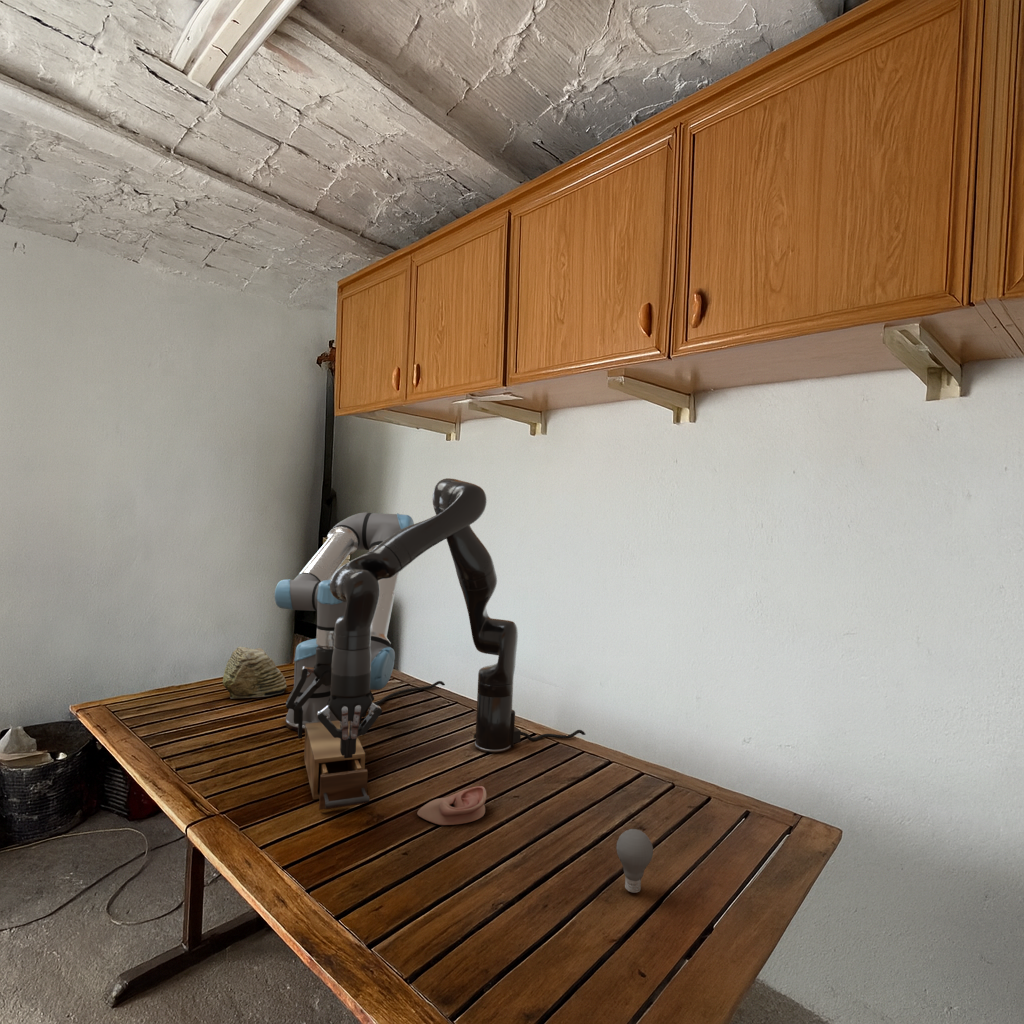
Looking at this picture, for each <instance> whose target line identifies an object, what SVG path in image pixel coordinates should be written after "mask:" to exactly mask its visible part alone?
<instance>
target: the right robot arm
mask: <svg viewBox="0 0 1024 1024" xmlns="http://www.w3.org/2000/svg"><path fill="white" fill-rule="evenodd" d="M487 501H488V500H487V494H486V492H485V490H484V489H483V488H482V487H481V486H479V485H477V484H475V483H471V482H469V481H464V480H462V479H456V478H443V479H440V480H439V481H438V482H437V483H436V485H435V486H434V489H433V492H432V505H433V511H434V513H435V515H433V516H431V517H430V518H427V519H425V520H422V521H419V522H415V523H414V524H413V525H410V526H408V527H405V528H403V529H401V530H399V531H397V532H395V533H394V534H392V535H391V536H390V537H388V538H387V539H386V540H384V541H383V542H382V543H380V544H379V545H378V546H377V547H375V548H374V549H373V550H372V551H370V552H369V551H367V552H365V553H364V554H361V555H359V556H358V557H356V558H353V559H352V560H350V561H348V562H346V563H345V564H343V565H341V566H340V567H339V568H338V570H337V571H336V572H335V573H334V575H333V576H332V578H331V579H330V580H331V581H330V591H331V593H332V595H333V596H334V597H335V598H336V599H338V600H340V601H343V602H346V603H347V605H346V610H345V615H344V616H341V617H339V618H338V619H337V620H336V623H335V630H334V650H333V655H332V664H331V669H332V671H331V695H330V698H329V700H328V703H327V706H326V707H325V708H324V709H322V710H318V711H317V713H316V714H317V717H318V719H319V720H320V722H321V723H322V724H323V725H324V726H325V728H326V729H327V730H328V731H329V732H330V733H331V735H332V736H333V737H334V738H340V739H341V741H340V752H341V754H342V756H343V755H344V758H352V754H355V752H356V739H357V737H358V738H359V737H360V736H365V735H366V734H367V733H368V731H369V730H370V729H371V728H372V726H373V725H374V724H375V722H376V721H377V720H378V718H379V717H380V716H381V715H382V713H383V710H382V708H381V706H380V704H379V705H375V704H374V703H375V702H373V701H372V699H371V697H370V677H371V650H370V643H371V624H372V621H373V618H374V615H375V611H376V608H377V604H378V600H379V594H380V587H379V582H378V580H380V579H387V578H391V577H393V576H395V575H396V574H398V573H399V574H400V573H401V572H402V571H403V570H404V569H405V568H406V567H408V566H409V565H410V564H411V563H413V562H414V561H415V560H416V559H418V557H420V556H421V555H423V554H424V553H425V552H426V551H428V550H430V549H431V548H433V547H435V546H436V545H438V544H440V543H441V542H442V541H443V542H444V540H446V542H447V545H448V549H449V551H450V555H451V558H452V562H453V565H454V568H455V572H456V576H457V580H458V583H459V586H460V589H461V591H462V595H463V598H464V602H465V606H466V610H467V613H468V620H469V625H470V631H471V637H472V642H473V644H474V647H475V649H476V650H477V652H479V653H482V654H486V655H491V656H497V657H498V658H497V662H496V663H494V664H489V665H485V666H483V667H480V669H478V674H477V694H476V695H477V698H476V719H475V734H474V735H473V740H475V741H474V747H475V749H477V750H479V751H480V752H484V753H489V754H490V753H491V754H498V753H499V754H500V753H504V752H507V751H509V750H510V749H512V748H514V747H515V746H514V745H515V744H517V743H521V740H522V739H521V738H522V737H521V736H523V737H525V738H526V739H527V740H529V741H530V742H536V741H539V740H541V739H544V738H555V739H562V740H567V739H572V738H574V737H575V736H576V735H578V734H581V735H582V736H586V732H585V731H584V730H582V729H577V730H575V731H573V732H572V733H570V734H555V733H543V734H539V735H537V736H535V737H532V736H530V735H529V733H527V732H523V731H522V730H521V729H519V727H516V726H515V725H516V724H515V723H516V711H515V710H514V709H513V701H514V700H513V697H514V678H515V677H514V676H515V670H516V662H517V661H516V660H517V650H518V640H519V631H518V626H517V624H516V623H515V621H512V620H509V619H500V618H492V617H490V616H489V614H488V610H487V606H488V603H489V602H490V600H491V598H492V596H493V595H494V593H495V591H496V588H497V584H498V577H497V576H498V575H497V572H496V568H495V564H494V561H493V558H492V556H491V553H490V552H489V550H488V549H487V547H486V546H485V545H484V543H483V542H482V541H481V540H480V538H479V537H478V536H477V534H476V533H475V532H474V530H473V528H472V527H471V525H472V524H474V523H476V522H477V521H478V520H479V519H480V518H481V517H482V515H484V512H485V510H486V507H487ZM330 710H331V712H332V713H333V714H334V716H335V717H336V718H337V720H339V721H340V729H337V728H336V727H335V725H334V724H333V723H332V722H331V721H330V719H329V718H330V713H329V712H330ZM365 713H366V716H365V717H363V715H364V714H365ZM367 713H368V714H367ZM361 718H362V719H361ZM363 718H364V719H363ZM360 719H361V720H362V721H361V724H360V726H359V720H360ZM348 721H350V729H349V736H348ZM566 735H568V736H566Z"/></svg>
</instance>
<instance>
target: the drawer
mask: <svg viewBox="0 0 1024 1024" xmlns="http://www.w3.org/2000/svg"><path fill="white" fill-rule="evenodd" d="M368 774H369V771H368V768H365V769H363V770H361V766H360V763H359V761H358V759H350V760H342V761H333V762H325V763H319V776H318V785H319V789H320V797H319V799H318V809H319V811H321V810H323V811H324V810H328V809H336V808H341V807H348V806H357V805H363V804H368V803H370V801H371V799H370V795H368Z"/></svg>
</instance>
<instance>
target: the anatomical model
mask: <svg viewBox="0 0 1024 1024" xmlns="http://www.w3.org/2000/svg"><path fill="white" fill-rule="evenodd" d="M487 796H488V795H487V789H486V788H485V787H484V786H482V785H477V786H473V787H469V788H466V789H463V790H460V791H457V792H456V793H454V794H451V795H448V796H446V797H440V798H436V799H433V800H430V801H429V802H427V803H426V804H424V805H423V806H421V807H420V808H419V809H418V811H416V812H417V816H418V817H419V818H421V819H423V820H425V821H427V822H429V823H432V824H435V825H439V826H454V825H462V824H468V823H471V822H475V821H477V820H479V819H481V818H483V817H484V815H485V813H486V806H485V803H486V802H487Z"/></svg>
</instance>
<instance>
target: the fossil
mask: <svg viewBox="0 0 1024 1024" xmlns="http://www.w3.org/2000/svg"><path fill="white" fill-rule="evenodd" d="M222 676H223V677H222V685H223V687H224V688H225V690H226V691H228V693H229V698H230V699H250V698H264V697H271V696H275V695H281V694H284V693H285V691H286V689H287V687H288V686H287V680H286V678H285V676H284V674H283V673H282V672H281V669H279V668H278V667H277V665H276V663H275V662H274V660H273V659H272V658H271V657H270V656H269V655H268V654H267V653H266V652H265V650H264V649H263V648H260V647H258V648H251V647H247V646H246V647H245V646H238V647H237V648H236V649H235V650H233V651H232V653H231V656H230V657H229V659H228V660H227V663H226V666H225V668H224V671H223V675H222Z"/></svg>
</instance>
